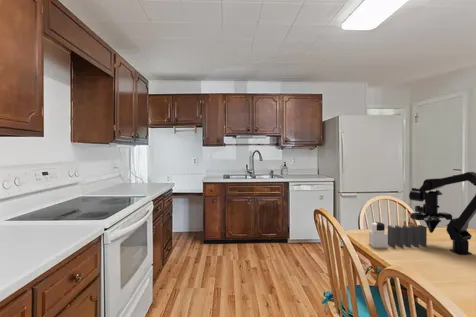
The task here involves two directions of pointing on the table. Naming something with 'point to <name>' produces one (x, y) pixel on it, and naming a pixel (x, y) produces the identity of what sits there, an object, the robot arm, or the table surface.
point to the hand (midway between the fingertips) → (431, 232)
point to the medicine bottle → (378, 236)
